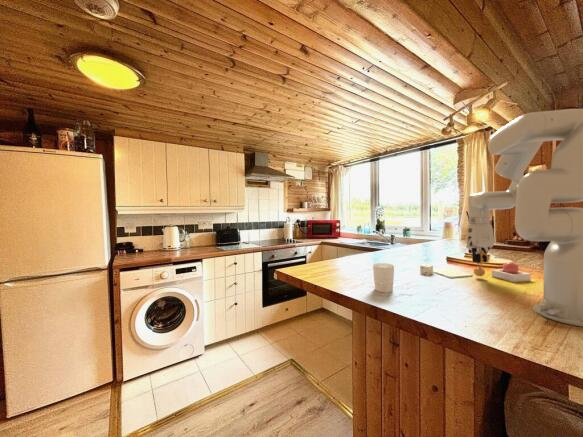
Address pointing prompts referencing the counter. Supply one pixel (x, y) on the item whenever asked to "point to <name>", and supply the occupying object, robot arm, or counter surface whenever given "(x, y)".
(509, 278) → the popper box
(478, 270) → the figurine
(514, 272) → the dome button
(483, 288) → the counter surface
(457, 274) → the tile
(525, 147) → the robot arm
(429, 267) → the ivory die
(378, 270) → the white cup
